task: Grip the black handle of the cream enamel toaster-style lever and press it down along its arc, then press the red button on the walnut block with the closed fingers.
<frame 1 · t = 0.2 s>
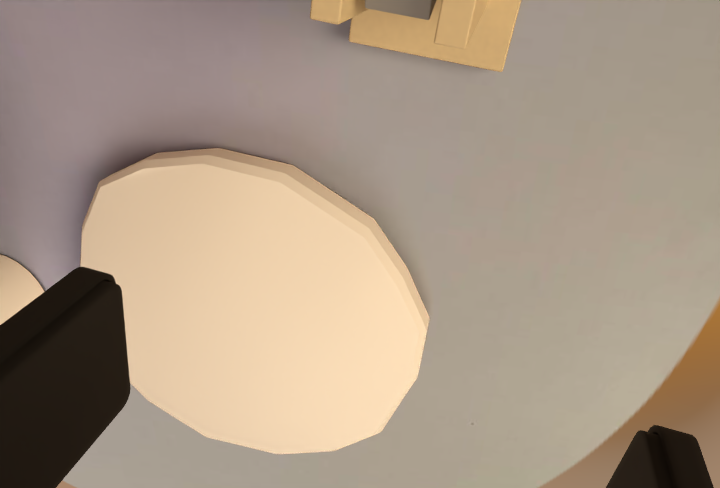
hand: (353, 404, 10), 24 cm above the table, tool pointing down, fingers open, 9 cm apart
decorative plate: (251, 309, 42), on the table
cup: (10, 291, 47), on the table
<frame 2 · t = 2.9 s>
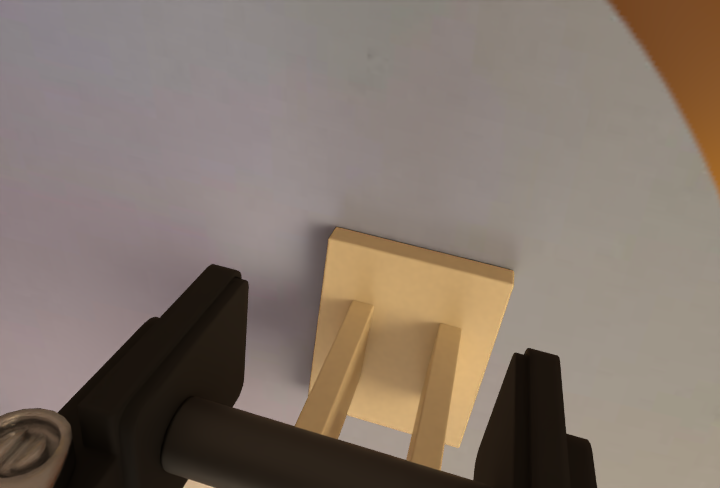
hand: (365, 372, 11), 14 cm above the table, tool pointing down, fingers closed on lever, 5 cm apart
toaster bracket: (403, 335, 27), on the table
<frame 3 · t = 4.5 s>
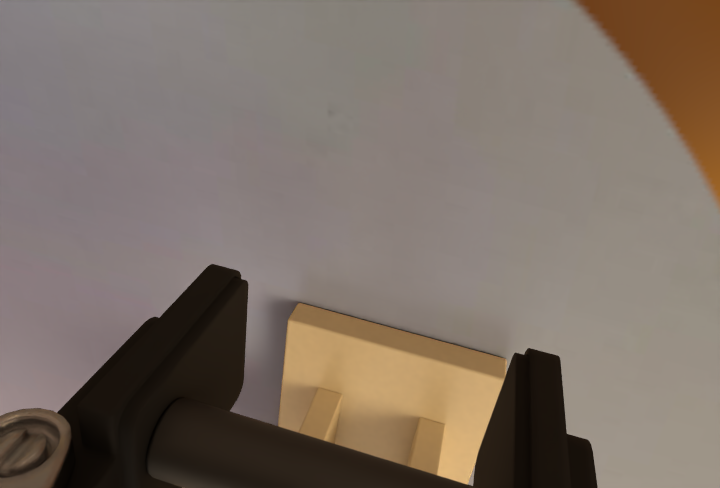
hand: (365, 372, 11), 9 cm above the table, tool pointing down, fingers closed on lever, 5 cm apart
toaster bracket: (379, 421, 24), on the table
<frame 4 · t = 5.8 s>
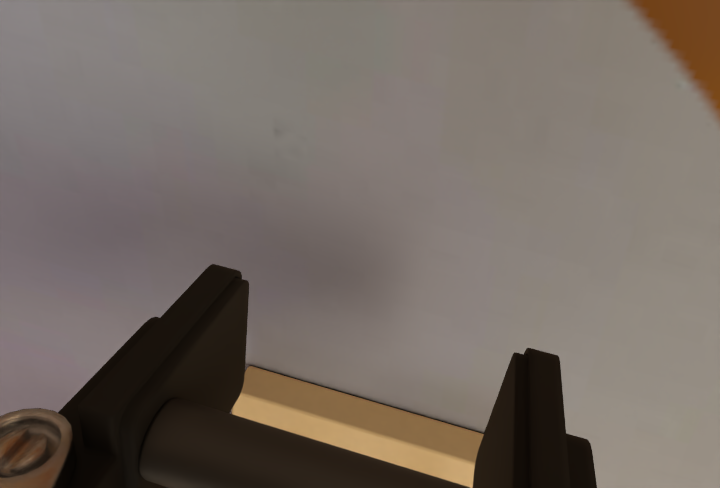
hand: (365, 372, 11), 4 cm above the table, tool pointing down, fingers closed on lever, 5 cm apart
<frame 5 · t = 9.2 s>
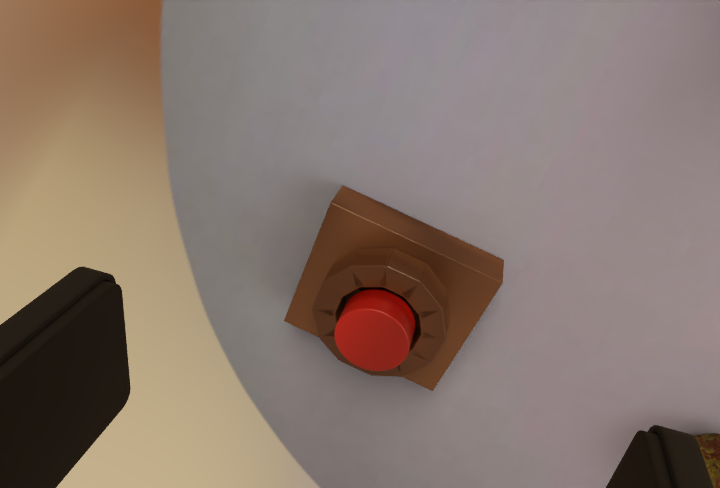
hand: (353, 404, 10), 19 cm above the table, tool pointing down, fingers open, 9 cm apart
button: (375, 330, 27), point 4 cm above the table, slide at 0.1 cm
button block: (393, 280, 31), on the table
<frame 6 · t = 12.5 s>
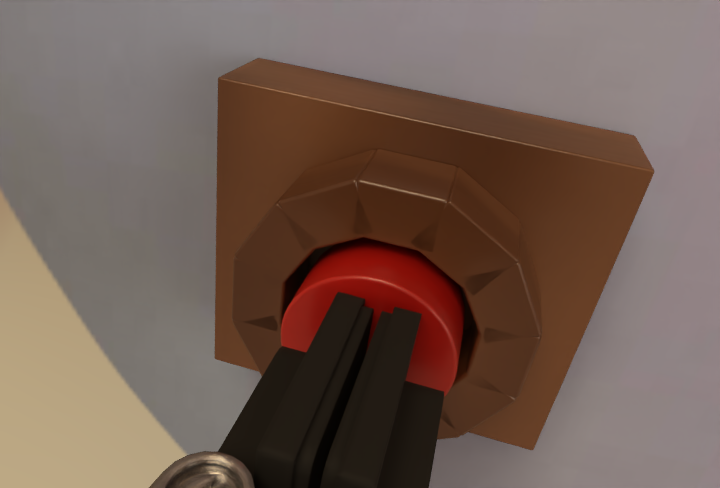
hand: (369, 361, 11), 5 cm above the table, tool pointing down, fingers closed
button: (375, 328, 12), point 4 cm above the table, slide at -0.4 cm, touching gripper
button block: (407, 240, 15), on the table
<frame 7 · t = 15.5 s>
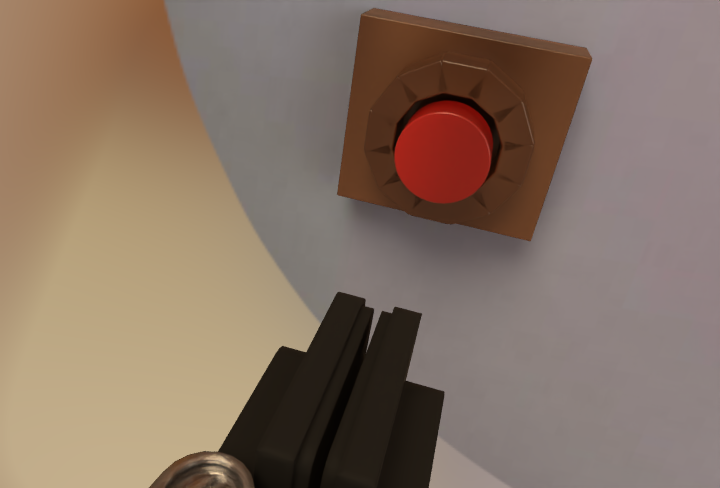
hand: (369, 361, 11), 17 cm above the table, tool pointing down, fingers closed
button: (444, 152, 22), point 4 cm above the table, slide at 0.1 cm
button block: (455, 119, 26), on the table
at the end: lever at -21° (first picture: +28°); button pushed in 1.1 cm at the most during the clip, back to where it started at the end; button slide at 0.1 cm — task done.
